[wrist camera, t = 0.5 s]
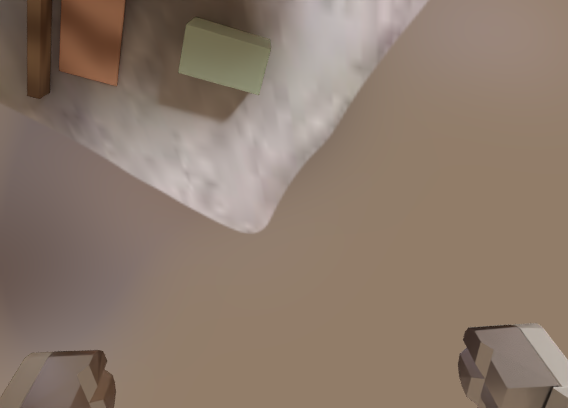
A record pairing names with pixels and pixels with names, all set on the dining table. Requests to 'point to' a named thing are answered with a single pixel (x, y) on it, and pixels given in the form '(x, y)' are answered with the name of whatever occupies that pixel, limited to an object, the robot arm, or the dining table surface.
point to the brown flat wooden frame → (74, 41)
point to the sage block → (224, 55)
